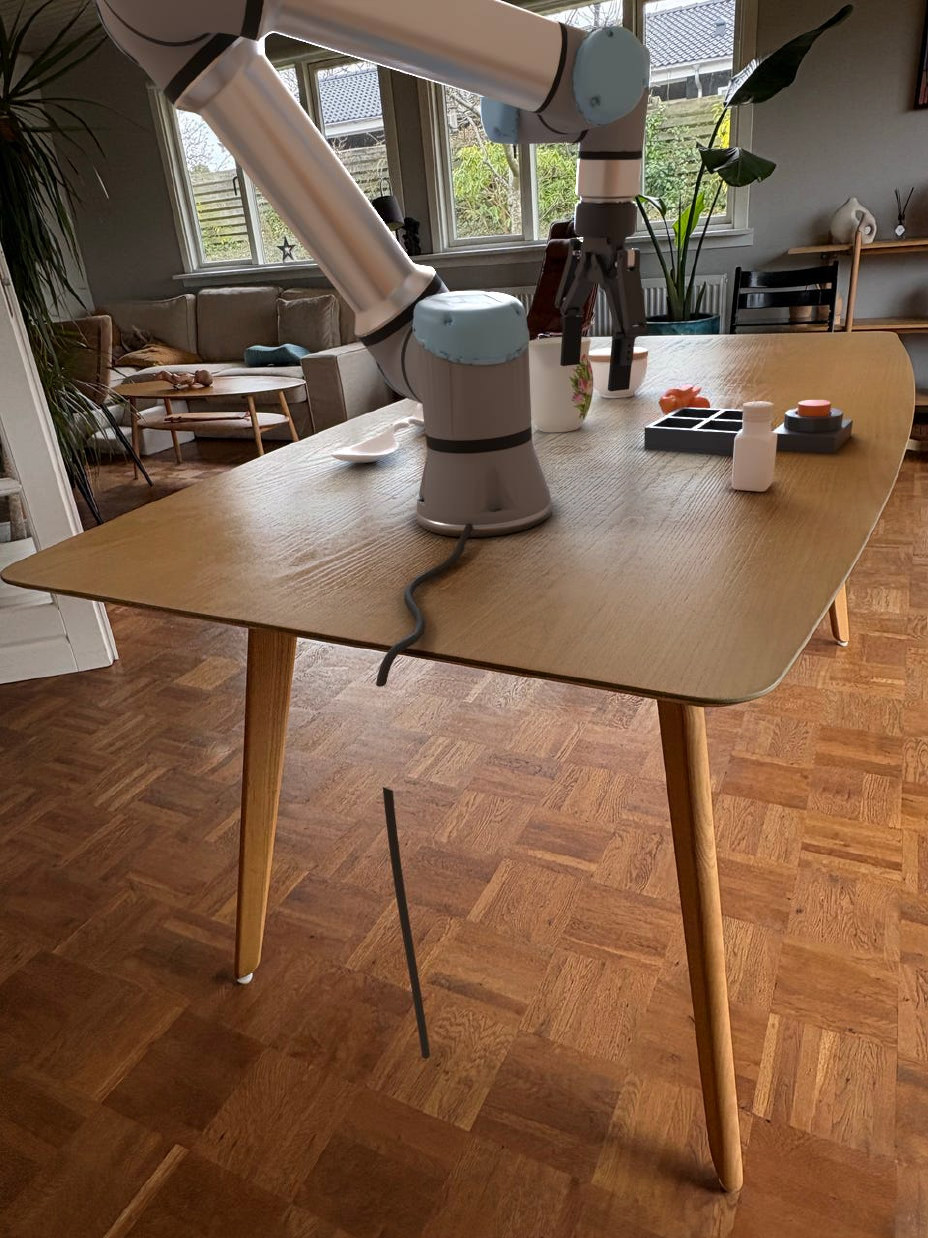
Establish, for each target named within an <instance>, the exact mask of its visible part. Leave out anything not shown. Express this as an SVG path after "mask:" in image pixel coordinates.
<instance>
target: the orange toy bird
mask: <svg viewBox="0 0 928 1238" xmlns="http://www.w3.org/2000/svg"><path fill="white" fill-rule="evenodd" d="M701 390H702V387H701V386H699V385H693V384H690V383H688V382H687V383H686V384H683V385H681V386H679V387H669V388H667V389H666V391H665V392H664V394H662V395H661V396H660V398H659V400H658V405H659V407H660V410H661V412H662V413H663V415H664V416H666V415H668V414H670V413H671V412H673V411H675V410H677V409H679V408H681V407H688V408H709V409H711V403H710V401H709V400H708V398H707V397H704V396H702V395H699V394H700V393H701Z"/></svg>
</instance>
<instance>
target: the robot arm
mask: <svg viewBox="0 0 928 1238" xmlns="http://www.w3.org/2000/svg"><path fill="white" fill-rule="evenodd" d="M92 1H93V4H94V7H95V10H96V12H97V15H98V18H99V20H100V23H101V25H102V26H103V28H104V30H105V31H106V33H107V35H108V36H109V38H110V39H111V41H112V42H113V43H114V44H115V46H116V47H117V48H118V49H119V50H120V51H121V53H123V55H125V56H127V57H128V58H129V60H130V61H131V62H133V63H134V64H136V65H137V66H138V67H140V68H142V69H143V70H144V71H145V73H146V74H147V75H148V76H149V77H150V79H151V80H152V81H153V82H154V84H155V85H156V86H157V88H158V89H159V90H160V91H161V93H162V94H163V95H164V96H165V97H166V99H167V100H168V101H169V102H170V103H171V105H172V106H173V107H174V109H175V110H176V111H177V110H178V111H182V112H186V113H191V114H196V115H197V116H199V117H201V118H202V120H204V122H205V123H206V124H207V126H208V127H209V129H210V130H211V131H212V132H213V133H214V135H215V136H216V137H217V138H218V140H219V142H220V143H221V144H222V145H223V146H224V147H225V149H226V150H227V152H229V155H231V157H232V158H233V159H234V161H236V163H237V164H238V165H239V167H240V168H241V169H242V170H243V172H244V173H245V174H246V176H247V177H248V178H249V179H250V181H251V182H252V183H253V184H254V186H255V187H256V188H257V190H258V191H259V192H260V194H261V195H262V196H263V197H264V199H265V200H266V201H267V203H268V204H269V205H270V207H272V209H273V210H274V211H275V213H276V214H277V215H278V216H279V218H280V219H281V220H282V222H283V223H284V224H285V226H286V227H287V228H288V229H289V231H290V232H291V233H292V235H293V236H294V237H295V238H296V239H297V241H298V242H299V243H300V244H301V246H302V247H303V249H304V250H305V251H306V252H307V254H308V255H309V256H310V257H311V259H312V260H313V261H314V262H315V264H316V265H317V266H318V267H319V269H320V270H321V271H322V273H323V274H324V275H325V277H326V278H327V279H328V281H329V282H330V283H331V284H332V285H333V287H334V288H335V289H336V290H337V292H338V293H339V295H340V296H341V297H342V298H343V299H344V301H345V303H347V304H348V306H349V307H350V308H351V310H352V311H353V312H354V318H355V319H354V330H353V331H354V335H355V336H356V337H357V339H358V340H359V341H360V343H361V344H362V345H363V347H364V348H365V349H366V350H367V351H368V353H369V354H370V356H372V358H373V359H374V362H375V364H376V367H377V370H378V371H379V373H380V375H381V377H382V378H383V380H384V382H385V383H386V384H387V385H388V386H389V387H390V388H391V389H392V390H393V391H395V392H396V393H397V394H399V395H400V396H401V397H404V398H406V399H408V400H411V401H413V402H417V403H418V404H420V403H421V404H422V409H423V417H424V426H425V428H424V434H425V435H424V436H425V444H426V445H425V446H426V457H425V463H424V467H423V470H422V471H423V472H422V475H421V480H420V486H419V492H418V495H417V499H416V516H417V523H418V525H419V526H420V527H421V528H423V529H425V530H426V531H429V532H432V533H434V534H437V535H442V536H449V537H457V538H458V537H459V539H458V541H457V545H456V547H455V550H454V552H453V553H452V555H451V556H450V557H448V558H447V559H446V560H444V561H443V562H441V563H440V564H438V565H436V566H434V567H432V568H430V569H428V570H427V571H424V572H423V573H421V574H419V575H418V576H416V577H415V578H414V579H413V580H412V581H411V582H409V584H408V585H407V587H406V588H405V590H404V595H403V596H404V597H403V599H404V603H405V605H406V608H407V609H408V610H409V613H411V615H412V616H413V618H414V621H415V628H414V630H413V632H412V633H411V634H409V635H408V636H406V637H405V638H403V639H401V640H399V641H397V642H396V643H395V644H394V645H392V647H390V649H389V650H388V651H387V652H386V654H385V655H384V657H383V659H382V661H381V663H380V667H379V669H378V673H377V675H376V681H375V685H376V687H379V688H380V687H381V688H382V687H384V686H386V685H387V683H388V677H389V674H390V672H391V671H390V670H391V668H392V665H393V663H394V661H395V659H396V658H397V656H399V655H400V654H401V653H402V652H404V650H406V649H408V648H410V647H411V646H413V645H414V644H416V643H418V641H420V640H421V638H422V637H423V636H424V633H425V629H426V619H425V617H424V614H423V612H422V611H421V609H420V608H419V607H418V606H417V604H416V603H415V600H414V596H413V595H414V592H415V591H416V589H417V588H418V587H419V586H421V585H422V584H424V583H426V582H427V581H428V580H430V579H432V578H434V577H436V576H438V575H440V574H441V573H443V572H445V571H446V570H448V569H450V568H451V567H452V566H453V565H454V564H455V563H456V562H458V560H459V559H460V558H461V556H462V554H463V552H464V550H465V546H466V543H467V541H468V539H469V538H482V537H484V538H485V537H495V536H501V535H508V534H512V533H517V532H521V531H524V530H528V529H530V528H533V527H536V526H537V525H540V524H541V523H543V522H544V521H546V520H547V519H548V518H549V517H550V516H551V514H552V512H553V511H552V508H553V507H552V498H551V491H550V487H549V485H548V484H547V481H546V478H545V475H544V472H543V469H542V466H541V464H540V461H539V458H538V456H537V452H536V450H535V448H534V443H533V428H532V419H531V397H530V369H529V341H531V340H530V330H529V328H528V321H527V313H526V312H527V311H526V309H525V307H524V304H523V303H522V302H521V301H520V300H519V299H517V297H514V296H511V295H510V294H506V293H502V292H495V291H489V292H488V291H483V290H463V291H462V290H461V291H450V290H449V289H448V288H447V286H446V284H445V283H444V282H443V280H442V279H441V277H440V276H439V275H438V273H437V272H436V271H435V269H434V268H433V267H432V266H426V265H420V264H416V263H414V262H413V261H412V260H411V259H410V257H409V256H408V254H407V253H406V252H405V250H404V249H403V247H402V246H401V245H400V243H399V241H398V240H397V239H396V237H395V236H394V234H393V233H392V232H391V230H390V229H389V227H388V226H387V225H386V223H385V221H383V219H382V218H381V216H380V215H379V214H378V212H377V210H376V209H375V207H374V206H373V205H372V204H371V201H370V200H368V197H366V195H365V194H364V192H363V191H362V189H361V188H360V186H359V185H358V184H357V183H356V181H355V180H354V178H353V177H352V175H351V174H350V173H349V171H348V170H347V169H346V167H345V166H344V164H343V163H342V161H341V160H340V159H339V157H338V156H337V155H336V153H335V152H334V150H333V149H332V147H331V146H330V145H329V143H328V142H327V140H326V139H325V138H324V136H323V135H322V134H321V132H320V131H319V128H318V127H316V125H315V123H314V122H313V120H312V118H310V116H309V115H308V113H307V112H306V110H305V109H304V108H303V106H302V105H301V104H300V103H299V100H297V98H296V97H295V95H294V94H293V92H292V91H291V90H290V89H289V87H288V85H287V84H286V83H285V81H284V79H283V78H282V77H281V75H280V74H279V73H278V71H277V70H276V69H275V67H274V65H272V63H271V62H270V60H269V59H268V57H267V56H266V53H265V52H266V51H265V38H266V37H267V36H268V35H270V34H273V33H275V34H279V35H282V36H285V37H287V38H288V37H289V38H292V39H295V40H298V41H302V42H306V43H308V44H311V45H314V46H318V47H321V48H323V49H328V50H330V51H333V52H337V53H340V54H344V55H346V56H350V57H352V58H353V57H354V58H356V59H359V60H363V61H366V62H369V63H373V64H375V65H379V66H382V67H386V68H388V69H392V70H395V71H399V72H401V73H404V74H407V75H408V74H409V75H412V76H415V77H417V78H421V79H424V80H428V81H431V82H435V83H437V84H440V85H444V86H446V87H447V86H448V87H450V88H453V89H456V90H461V91H463V92H467V93H469V94H473V95H476V96H479V97H480V99H479V100H480V101H479V102H480V103H479V104H480V105H479V108H480V119H481V121H480V122H481V125H482V129H483V131H484V134H485V136H486V137H487V138H488V140H489V141H490V142H492V143H494V144H502V145H513V146H514V147H517V146H518V145H534V144H535V145H537V144H538V145H541V144H565V143H566V144H568V143H569V144H578V155H577V167H576V184H575V195H576V196H577V198H579V201H577V202H576V204H575V205H574V218H573V219H574V221H573V232H574V234H575V235H576V236H578V237H571V238H570V239H569V242H568V243H569V244H568V252H567V257H566V261H565V265H564V269H563V272H562V276H561V279H560V282H559V287H558V289H557V294H556V297H555V300H554V307H555V308H556V309H559V310H560V315H561V316H562V329H561V337H562V344H561V362H560V365H561V366H570V365H579V364H580V355H581V340H582V337H583V323H584V316H583V315H584V314H585V312H584V305H585V304H586V301H587V299H588V298H589V295H590V293H591V291H592V290H593V288H594V286H595V284H597V285H599V288H600V289H601V290H603V291H604V293H605V298H606V301H607V304H608V309H609V312H610V316H611V319H612V323H613V327H614V331H615V332H614V333H613V334H612V336H611V347H610V348H611V358H610V369H609V380H608V390H609V391H610V392H611V391H619V390H628V389H629V386H630V376H631V366H632V362H633V353H634V347H635V341H636V338H639V337H641V336H646V335H647V334H648V322H647V315H646V307H645V301H644V292H643V285H642V277H641V269H640V267H641V251H640V248H627V249H626V239H627V238H629V237H633V235H634V234H635V233H636V228H637V217H638V204H637V202H636V201H634V198H636V197H638V196H639V193H640V192H639V191H640V179H641V175H642V159H643V152H644V143H645V133H646V123H647V114H648V104H649V97H650V95H651V87H650V86H651V69H652V67H651V51H650V49H649V48H648V47H647V45H645V44H643V43H642V42H641V41H640V40H639V38H638V37H637V35H636V34H634V33H633V32H632V31H631V30H629V29H628V28H626V27H624V26H621V25H607V26H598V27H596V28H592V29H591V30H590V31H588V30H584V29H582V28H578V27H576V26H573V25H570V24H567V23H565V22H561V21H558V20H554V19H551V18H549V17H546V16H544V15H541V14H538V13H536V12H533V11H530V10H528V9H524V8H522V7H520V6H516V5H514V4H511V3H508V2H506V1H503V0H92ZM382 795H383V804H384V814H385V822H386V832H387V839H388V848H389V858H390V864H391V871H392V877H393V884H394V890H395V897H396V904H397V910H398V917H399V922H400V929H401V935H402V941H403V945H404V953H405V959H406V963H407V964H406V965H407V970H408V975H409V981H410V987H411V988H410V989H411V994H412V1000H413V1005H414V1006H413V1007H414V1013H415V1018H416V1024H417V1032H418V1040H419V1045H420V1052H421V1057H422V1059H424V1060H428V1059H429V1058H430V1056H431V1051H430V1044H429V1037H428V1030H427V1023H426V1016H425V1009H424V1003H423V997H422V989H421V983H420V979H419V973H418V966H417V960H416V959H417V958H416V953H415V947H414V941H413V935H412V934H413V933H412V929H411V923H410V915H409V910H408V903H407V897H406V896H407V895H406V889H405V882H404V876H403V868H402V867H403V866H402V860H401V853H400V845H399V837H398V827H397V826H398V825H397V818H396V810H395V809H396V807H395V799H394V790H391V789H390V788H387V787H384V786H382Z"/></svg>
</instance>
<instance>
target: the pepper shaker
mask: <svg viewBox="0 0 928 1238" xmlns="http://www.w3.org/2000/svg"><path fill="white" fill-rule="evenodd" d="M742 410H743V419H742V422H743V426H742V431H740V432H739V433H738V434H737V435H736V437H735V439H734V454H733V456H732V471H731V486H732V489H733V490H737V491H745V492H746V491H747V492H748V491H749V492H761V493H762V492H765V491H767V490H768V489H769V487H770V486H772V484H773V482H774V479H775V467H776V466H775V465H776V458H777V457H776V456H777V450H776V445H777V433H775V432H773V431H774V430H772V424H771V422H772V423H773V414H774V403H773V402H770V401H763V400H762V401H760V400H759V401H758V400H757V401H756V400H755V401H747V402H745V403H743V405H742Z"/></svg>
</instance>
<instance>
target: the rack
mask: <svg viewBox="0 0 928 1238" xmlns="http://www.w3.org/2000/svg"><path fill="white" fill-rule="evenodd" d="M742 419H743V409H729V408H728V409H727V408H710V409H709V408H688V407H681V408H679V409H677V410H675V411H673V412H671V413H670V414H668V415H664V416H663V417H660V418H659V419H657V420H655V421H653V422H652V423H649V424H648V425H646V426H644V433H643V434H644V439H643V441H644V442H643V450H646V451H659V452H660V451H661V452H674V453H685V454H698V455H710V456H711V455H713V456H722V457H723V456H725V457H733V454H734V439H735V437H736V435H737V434H738V433H739V432H740V431H742V426H743V422H742ZM772 423H773V421H772V422H771V425H772Z"/></svg>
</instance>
